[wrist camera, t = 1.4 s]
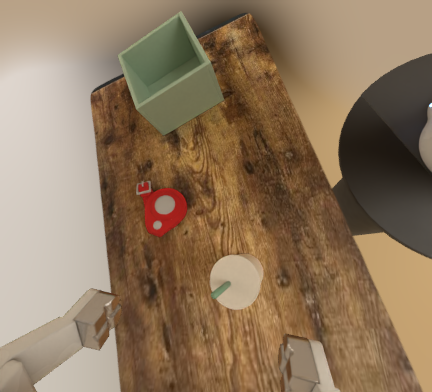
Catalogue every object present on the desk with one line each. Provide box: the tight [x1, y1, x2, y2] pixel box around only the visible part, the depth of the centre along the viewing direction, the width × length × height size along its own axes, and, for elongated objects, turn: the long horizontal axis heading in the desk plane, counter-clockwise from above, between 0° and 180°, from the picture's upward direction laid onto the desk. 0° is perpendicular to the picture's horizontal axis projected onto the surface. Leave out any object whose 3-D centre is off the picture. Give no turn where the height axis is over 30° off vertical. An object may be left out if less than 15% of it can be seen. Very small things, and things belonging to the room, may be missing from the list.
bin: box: [118, 12, 224, 136], centre depth 43 cm, size 16×16×10 cm
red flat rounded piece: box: [136, 181, 187, 237], centre depth 40 cm, size 12×4×10 cm
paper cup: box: [210, 253, 263, 310], centre depth 27 cm, size 6×6×16 cm
